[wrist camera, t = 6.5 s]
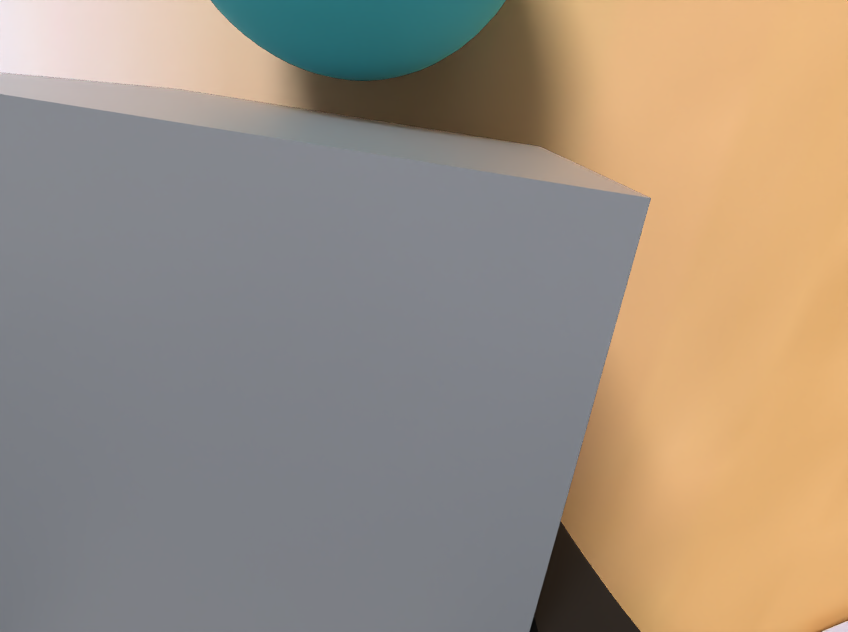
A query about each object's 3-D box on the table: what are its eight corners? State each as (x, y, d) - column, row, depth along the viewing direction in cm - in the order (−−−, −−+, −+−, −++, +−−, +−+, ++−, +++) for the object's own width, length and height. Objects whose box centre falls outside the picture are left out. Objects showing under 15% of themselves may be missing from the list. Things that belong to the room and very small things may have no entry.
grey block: (433, 654, 13) (399, 1095, 7) (176, 605, 13) (-63, 997, 7) (539, 146, 9) (651, 197, 3) (176, 88, 9) (-317, 43, 3)
